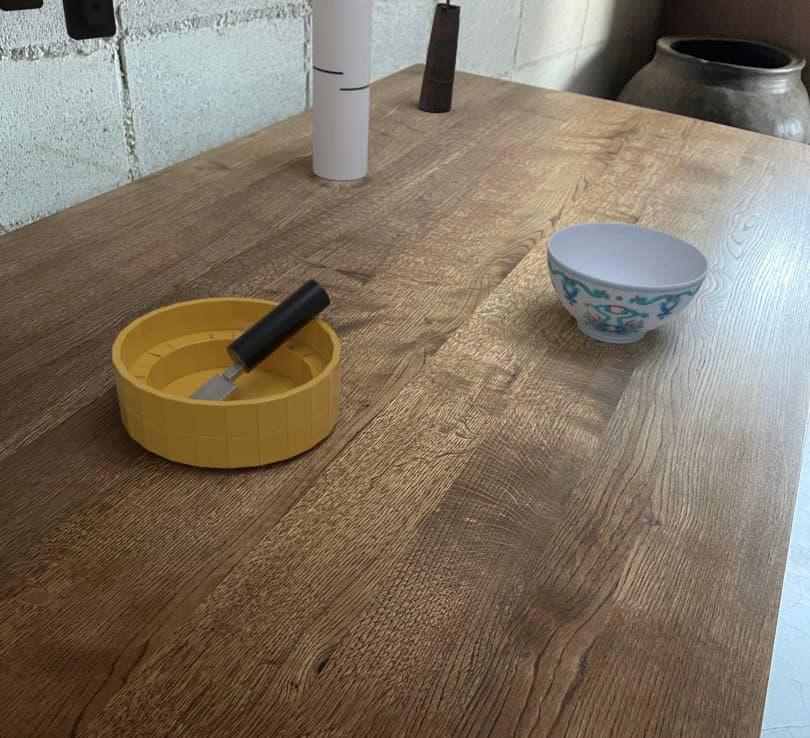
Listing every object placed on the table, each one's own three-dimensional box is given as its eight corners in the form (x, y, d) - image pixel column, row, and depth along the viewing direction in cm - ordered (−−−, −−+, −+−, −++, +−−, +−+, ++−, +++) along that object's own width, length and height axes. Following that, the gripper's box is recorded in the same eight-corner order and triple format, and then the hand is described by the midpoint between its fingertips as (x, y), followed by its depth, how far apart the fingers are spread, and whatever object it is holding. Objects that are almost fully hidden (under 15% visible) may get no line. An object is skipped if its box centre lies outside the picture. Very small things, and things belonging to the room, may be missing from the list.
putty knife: (314, 299, 76) (304, 274, 74) (334, 310, 75) (325, 285, 73) (167, 420, 72) (152, 398, 70) (186, 435, 70) (172, 412, 68)
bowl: (81, 403, 74) (69, 335, 70) (254, 342, 84) (251, 279, 80) (205, 503, 65) (198, 432, 61) (382, 422, 75) (386, 356, 71)
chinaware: (577, 282, 98) (591, 210, 94) (710, 325, 92) (732, 251, 87) (507, 330, 89) (518, 253, 84) (650, 382, 83) (671, 302, 78)
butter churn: (444, 122, 142) (463, -97, 124) (393, 109, 146) (404, -105, 128) (474, 111, 148) (496, -100, 130) (424, 99, 152) (439, -108, 134)
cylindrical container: (319, 160, 124) (319, -59, 108) (371, 165, 124) (378, -53, 108) (307, 177, 119) (305, -51, 103) (361, 183, 118) (368, -45, 102)
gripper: (-132, -333, 53) (-56, 3, 64) (7, -336, 44) (68, 56, 55) (-6, -318, 58) (45, -5, 68) (144, -318, 48) (175, 43, 59)
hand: (55, 22), depth 62 cm, fingers open, 9 cm apart
